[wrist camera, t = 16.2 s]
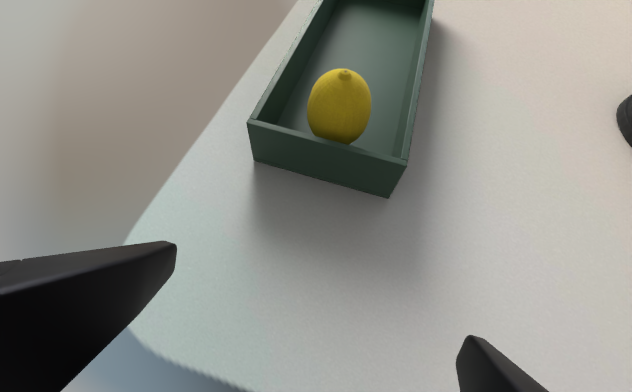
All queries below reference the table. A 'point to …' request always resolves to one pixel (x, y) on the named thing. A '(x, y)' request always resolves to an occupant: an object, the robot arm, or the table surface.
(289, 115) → the green rectangular tray
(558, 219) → the table surface
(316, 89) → the lemon
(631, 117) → the desk lamp
